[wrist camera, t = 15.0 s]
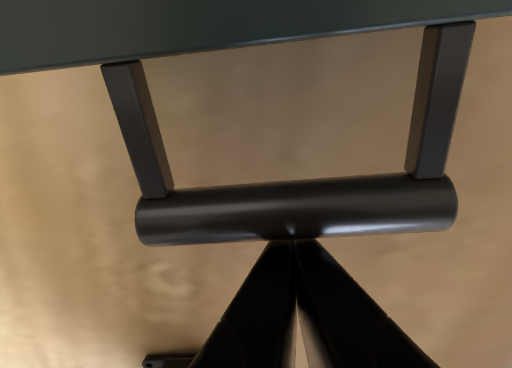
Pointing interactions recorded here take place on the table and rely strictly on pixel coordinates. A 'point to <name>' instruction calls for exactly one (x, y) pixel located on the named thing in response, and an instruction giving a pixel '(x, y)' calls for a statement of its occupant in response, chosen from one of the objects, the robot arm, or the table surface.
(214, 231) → the drawer
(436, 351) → the table surface
